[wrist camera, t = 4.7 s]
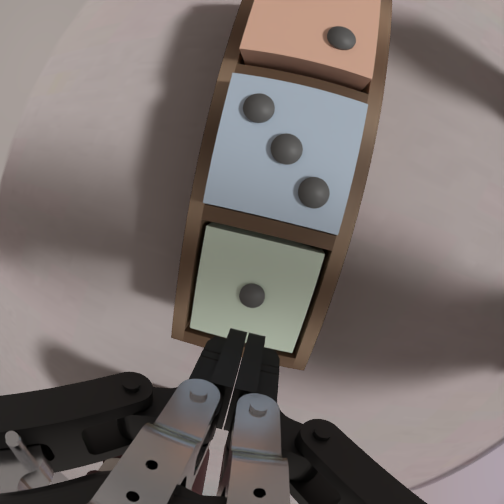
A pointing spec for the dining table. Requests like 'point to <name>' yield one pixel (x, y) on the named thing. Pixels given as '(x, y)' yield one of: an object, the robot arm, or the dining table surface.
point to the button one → (254, 285)
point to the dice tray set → (329, 243)
